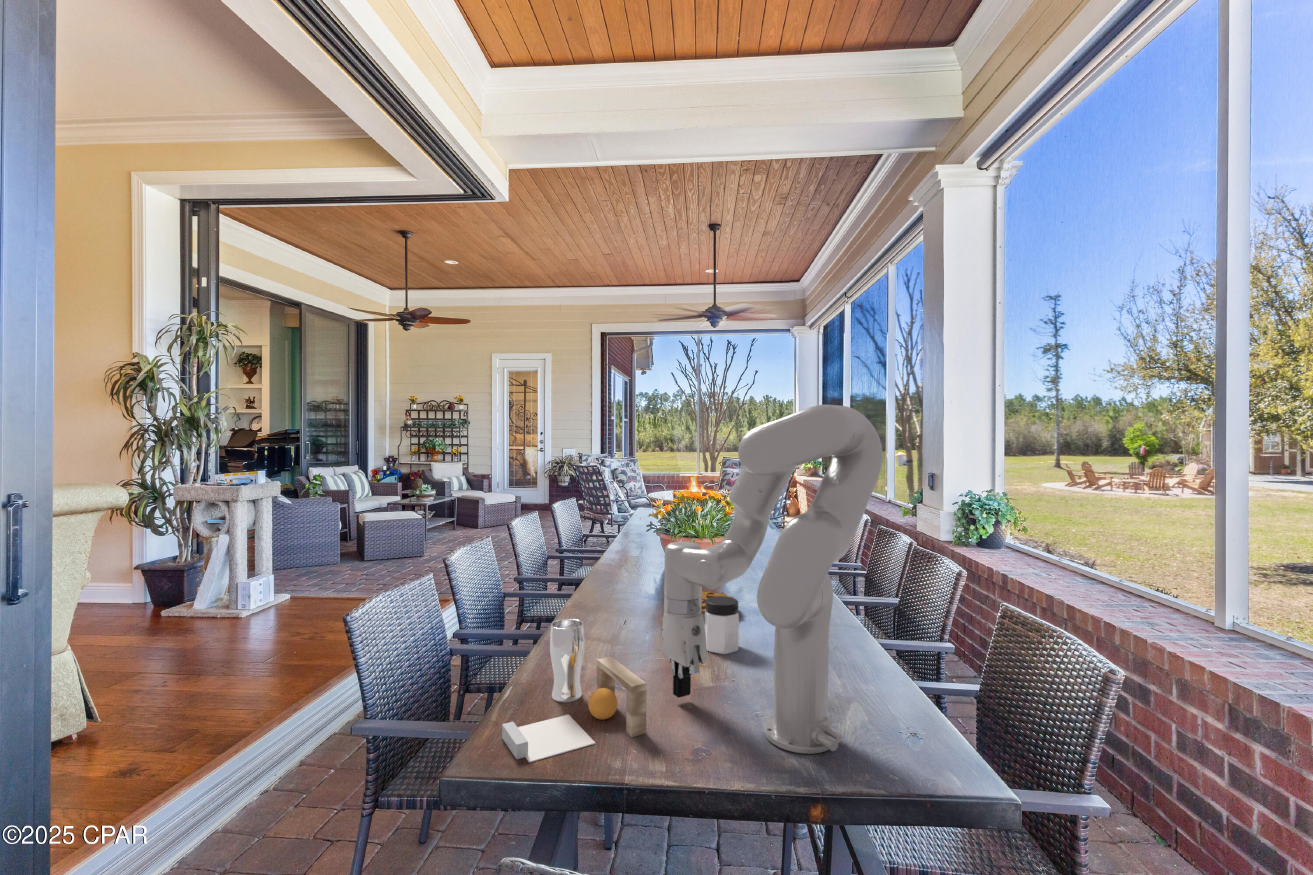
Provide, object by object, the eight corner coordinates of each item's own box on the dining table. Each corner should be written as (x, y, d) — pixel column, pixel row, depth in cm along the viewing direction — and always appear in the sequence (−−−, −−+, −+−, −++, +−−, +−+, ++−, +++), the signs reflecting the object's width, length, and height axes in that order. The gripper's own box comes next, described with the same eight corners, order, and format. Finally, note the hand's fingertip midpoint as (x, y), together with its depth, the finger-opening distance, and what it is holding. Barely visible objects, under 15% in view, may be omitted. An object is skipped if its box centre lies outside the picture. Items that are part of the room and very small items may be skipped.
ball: (627, 705, 116) (610, 686, 115) (607, 729, 114) (590, 710, 112) (614, 696, 121) (598, 678, 119) (595, 719, 119) (578, 700, 117)
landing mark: (595, 743, 107) (595, 742, 107) (529, 762, 101) (529, 761, 101) (568, 715, 118) (568, 714, 118) (506, 730, 111) (506, 729, 111)
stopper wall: (528, 756, 103) (528, 741, 103) (516, 759, 102) (516, 744, 102) (513, 735, 110) (513, 721, 110) (502, 737, 109) (502, 724, 109)
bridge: (610, 701, 123) (610, 656, 123) (646, 733, 111) (646, 682, 111) (596, 704, 122) (596, 659, 122) (631, 737, 110) (631, 686, 109)
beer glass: (568, 706, 121) (569, 631, 121) (542, 698, 125) (542, 624, 124) (590, 693, 127) (591, 621, 127) (564, 685, 131) (565, 616, 130)
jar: (717, 656, 148) (718, 607, 148) (697, 646, 155) (697, 599, 154) (745, 649, 153) (746, 601, 152) (724, 639, 160) (725, 594, 159)
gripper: (720, 611, 119) (719, 705, 119) (678, 592, 132) (677, 677, 132) (688, 617, 115) (686, 714, 115) (647, 597, 128) (647, 684, 128)
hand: (681, 694), depth 124 cm, fingers closed
